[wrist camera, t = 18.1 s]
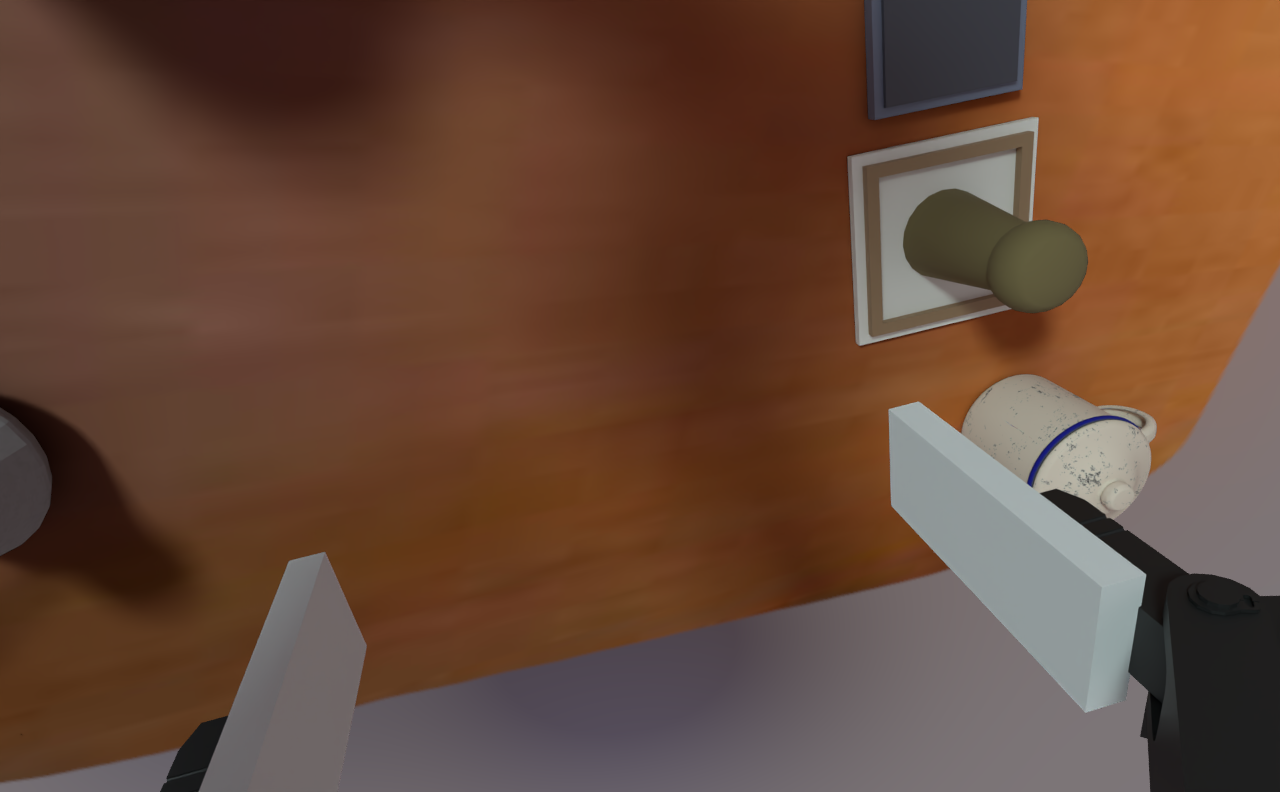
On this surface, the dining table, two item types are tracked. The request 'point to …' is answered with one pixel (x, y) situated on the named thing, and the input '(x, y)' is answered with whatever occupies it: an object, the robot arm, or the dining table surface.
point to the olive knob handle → (995, 251)
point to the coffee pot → (21, 483)
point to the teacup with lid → (1064, 441)
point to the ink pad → (941, 52)
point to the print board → (890, 194)
